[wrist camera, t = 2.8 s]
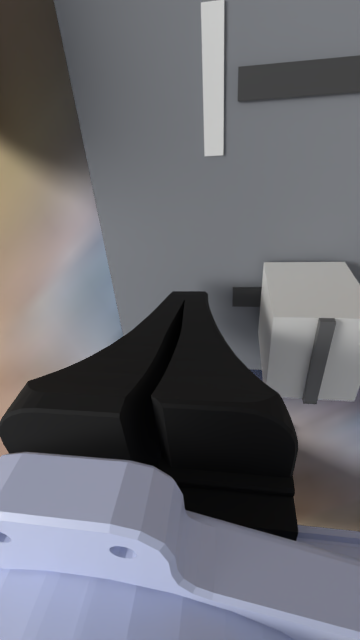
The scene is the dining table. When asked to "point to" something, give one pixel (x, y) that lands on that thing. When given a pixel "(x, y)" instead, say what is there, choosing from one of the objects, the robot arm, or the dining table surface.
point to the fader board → (217, 145)
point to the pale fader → (310, 330)
